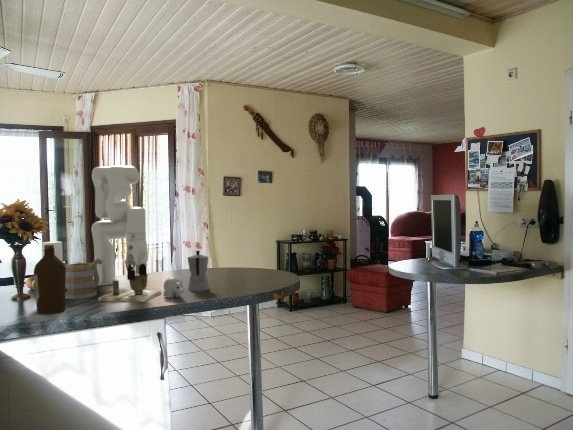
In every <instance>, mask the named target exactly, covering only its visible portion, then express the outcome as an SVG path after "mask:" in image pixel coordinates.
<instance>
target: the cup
mask: <svg viewBox="0 0 573 430" xmlns="http://www.w3.org/2000/svg"><path fill="white" fill-rule="evenodd" d="M148 276H149V275H148V274H147V275H143V274H142V275H141V274H140V275H139V274H135V280H128V281H129V286H130V290H133V291H134V294H135V295H141V294H143V290H146V289H147V285H148Z"/></svg>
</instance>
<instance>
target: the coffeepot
mask: <svg viewBox="0 0 573 430" xmlns="http://www.w3.org/2000/svg"><path fill="white" fill-rule="evenodd" d="M195 253H196V254H194V255H191V256H188V257H186V258H187V263H188V269H189V272H190V277H189V283H188V291H190V292H193V293H194V292H205V291H206V292H207V291H208V290H209V289H210V286H209V281H208V275H207V274H206V272H207V270H208V265H209V264H208V263H209V256H208V255H203V254H200V250H198V249H197V250H195Z"/></svg>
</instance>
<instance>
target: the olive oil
mask: <svg viewBox="0 0 573 430" xmlns="http://www.w3.org/2000/svg"><path fill="white" fill-rule="evenodd" d="M44 247H45V249H44V256H43V258H42V257H41V258H40V260H39V261H37V263H36V264H35V265H34V269H33V279H34V280H33V281H34V290H35V301H36V302H35V303H36V313H37V314H38V315H53V314H58V313H62V312H64V311H65V310H66V299H65V293H66V286H65V284H66V281H67V277H66V270H67V267H66V265H65V263H64V262H62V261H61V260H60V259H59V258H57V257H56V256H55V254H54V245H44Z"/></svg>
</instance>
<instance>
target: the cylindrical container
mask: <svg viewBox="0 0 573 430" xmlns="http://www.w3.org/2000/svg"><path fill="white" fill-rule="evenodd" d="M44 245H54V254H55V256H56V257H57V258H59V259H60V260H61V261H62V262H63V241H44V242H41V255H42V256H41V259H42V258H43V256H44V249H45V247H44ZM63 263H64V262H63Z"/></svg>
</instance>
